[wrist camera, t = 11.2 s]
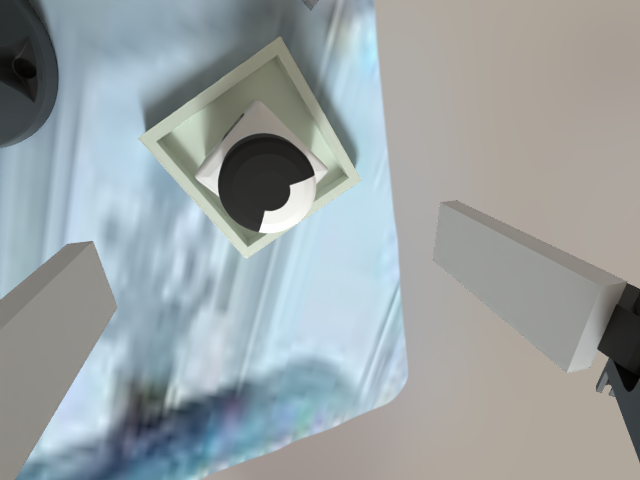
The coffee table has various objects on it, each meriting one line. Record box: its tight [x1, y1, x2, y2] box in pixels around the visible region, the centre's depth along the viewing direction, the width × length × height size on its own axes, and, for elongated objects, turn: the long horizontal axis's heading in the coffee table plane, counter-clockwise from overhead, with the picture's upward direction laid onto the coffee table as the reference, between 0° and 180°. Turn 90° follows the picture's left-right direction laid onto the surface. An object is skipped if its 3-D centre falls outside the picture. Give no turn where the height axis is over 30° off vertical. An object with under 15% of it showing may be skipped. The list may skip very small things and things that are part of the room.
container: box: [195, 101, 328, 233], centre depth 26 cm, size 8×8×13 cm
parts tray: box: [138, 36, 361, 259], centre depth 31 cm, size 15×15×2 cm
